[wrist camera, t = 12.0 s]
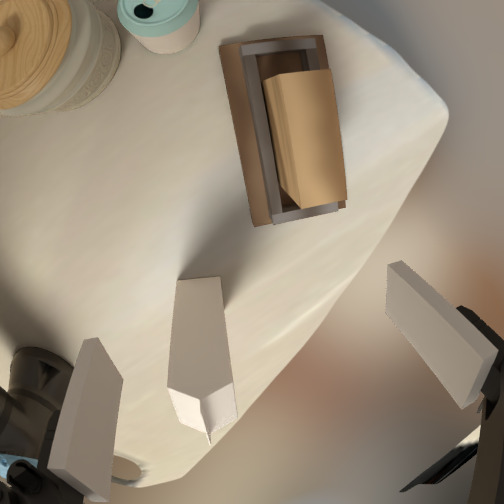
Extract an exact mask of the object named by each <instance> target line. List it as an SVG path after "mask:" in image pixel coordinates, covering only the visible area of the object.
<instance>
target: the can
mask: <svg viewBox="0 0 504 504" xmlns="http://www.w3.org/2000/svg"><path fill="white" fill-rule="evenodd" d="M117 13H118V18H119V20H120V22H121V24H122V25H123V26H124V27H125V28H126V29H127V30H128V31H129V32H130V33H131V34H132V35H133V36H134V37H135V38H136V39H137V40H138V41H139V42H140V43H141V44H142V45H143V46H145V47H146V48H147V49H148V50H150V51H152V52H155V53H158V54H172V53H176V52H178V51H181V50H183V49H184V48H186V47H187V46H189V45H190V44H191V43H192V42H193V41H194V39H195V38H196V36H197V34H198V32H199V28H200V16H199V0H118V5H117Z"/></svg>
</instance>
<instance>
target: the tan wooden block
mask: <svg viewBox="0 0 504 504" xmlns="http://www.w3.org/2000/svg"><path fill="white" fill-rule="evenodd" d="M260 83H261V88H262V93H263V99H264V104H265V110H266V115H267V121H268V127H269V132H270V138H271V144H272V150H273V156H274V162H275V168H276V174H277V180H278V184H279V185H280V186H281V187H282V188H283V189H284V190H285V191H286V192H287V194H288V195H289V196H290V197H291V198H292V199H293V200H294V201H295V202H296V204H297V205H298V206H299V207H300V208H301V209H304V208H309V207H314V206H318V205H323V204H328V203H333V202H337V201H342V200H347V189H346V179H345V169H344V159H343V150H342V142H341V134H340V126H339V119H338V112H337V105H336V99H335V92H334V86H333V80H332V75H331V69H325V70H313V71H303V72H293V73H285V74H279V75H276V76H274V77H271V78H269V79H266V80H264V81H262V82H260Z"/></svg>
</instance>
